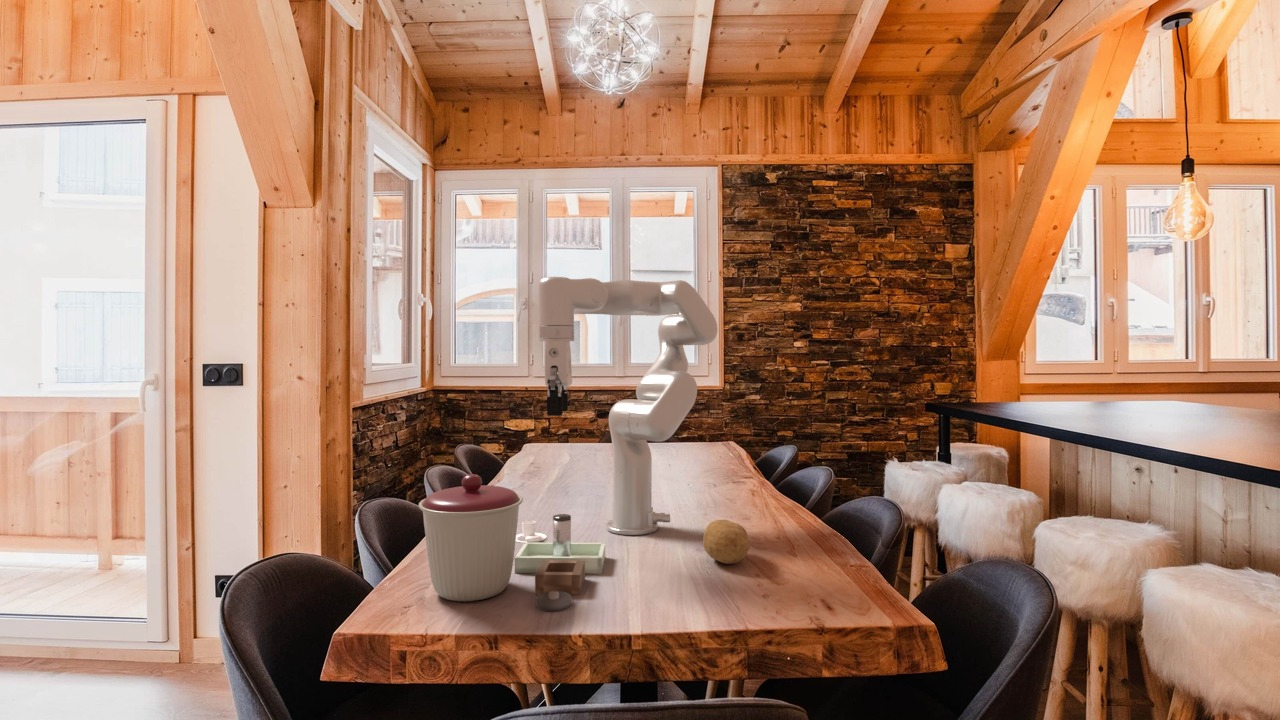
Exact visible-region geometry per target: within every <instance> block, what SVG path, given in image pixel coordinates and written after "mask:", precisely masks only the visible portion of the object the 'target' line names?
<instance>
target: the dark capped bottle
mask: <svg viewBox="0 0 1280 720" xmlns="http://www.w3.org/2000/svg"><path fill="white" fill-rule="evenodd" d="M571 528H572V516H571V515H570V514H566V513H560V514H559V513H558V514H555V515H553V516H552V543H553V557H571V543H572V535H571V534H572V529H571Z"/></svg>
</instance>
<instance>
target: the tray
mask: <svg viewBox="0 0 1280 720" xmlns="http://www.w3.org/2000/svg"><path fill="white" fill-rule="evenodd" d="M522 544H523V545H522V547H520V548H519V550H518V552H517V554H516V555H514V574H536V572H537V570H538V568H539V566H540V565H541V563H542V561H543V560H585V574H602V573H603V570H604V565H605V560H606V542H571V557H553V542H533V543H529V542H527V541H525V543H522Z"/></svg>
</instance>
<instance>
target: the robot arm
mask: <svg viewBox="0 0 1280 720" xmlns="http://www.w3.org/2000/svg"><path fill="white" fill-rule="evenodd" d="M580 314H581V315H605V316H607V315H608V316H645V317H646V316H647V317H648V316H653V317H655V316H656V317H657V316H664V317H663V318H662V319H661V320H660V322H659V325H658V329H657V333H658V335H657V336H658V342H659V354H658V356H657V358H656V359H655V361H654V362H653V364H652V365H651V366H650V367H649V368H648V370H647V371H646V373H644V375H643V376H642V378H641V379H640V380H639V382H638V383H637V386H636V389H635V395H636V398H637V399H633V398H631V399H628V398H627V399H626V398H625V399H622V400H619V401H617V402H616V403H614V404H613V405H612V407H611V408H610V411H609V414H608V428H609V432H610V438H611V444H612V446H611V447H612V519H611V520H609V521H607V522H606V526H605V527H606V530H607V531H608V532H610V533H613V534H617V535H623V536H625V535H626V536H640V535H641V536H642V535H647V534H651V533H654V532H656V531H657V530H658V529H659V528H658V527H659V524H658V523H660V522H661V523H671V514H670V513H669V514H668V513H667V514H666V513H665V512H656V511H654V509H653V507H652V504H653V503H652V500H653V499H652V497H653V496H652V494H653V493H652V484H653V483H652V471H653V470H652V467H653V466H652V452H651V449H650V446H649V443H648V441H650V442H658V443H659V442H665V441H666V440H669V439H670V438H671V437H672V436H673V435H674V434H675V432H676V431H677V430H678V428H679V427H680V425H681V424H682V422H683V421H684V420H685V418H686V417H687V415H688V414H689V413H690V410H691V409H692V407H693V406H694V405H695V403H696V399H697V394H698V385H697V382H696V379H695V378H694V377H693V375H692V374H691V373H689V372H688V369H689V361H688V359H687V356H686V353H685V348H684V346H705V345H709V344H711V343H712V342H713V341H714V340H715V339H716V337H717V335H718V329H719V328H718V323H717V320H716V318H715V315H714V314H713V313H712V311H711V309H710V308H709V307H708V305H707V304H706V302H705V301H704V299H703V298H702V296H701V295H700V294H699V293H698V291H697V290H696V289H695V288H694V287H693V286H692V285H691V283H689V282H687V281H686V280H682V279H681V280H672V281H659V282H658V281H643V280H642V281H641V280H631V279H623V280H621V279H619V280H611V281H605V282H602V281H600V280H599V279H597V278H592V277H589V278H569V277H563V276H548V277H547V276H546V277H543V278H541V279H540V281H539V282H538V318H539V319H538V324H539V325H538V327H539V328H538V329H539V332H538V333H539V342H544V349H543V350H544V351H543V352H544V381H545V382H544V383H545V386H546V387H547V395H546V415H547V416H548V417H558V416H559V417H561V416H562V415H563V414H564V413H563V412H567V411H568V410H569V409H568V407H569V405H568V404H569V403H568V401H569V399H568V398H569V397H568V395H569V394H568V387H569V386H571V385H572V384H573V376H572V375H573V371H572V351H571V342H575V315H580Z"/></svg>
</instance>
